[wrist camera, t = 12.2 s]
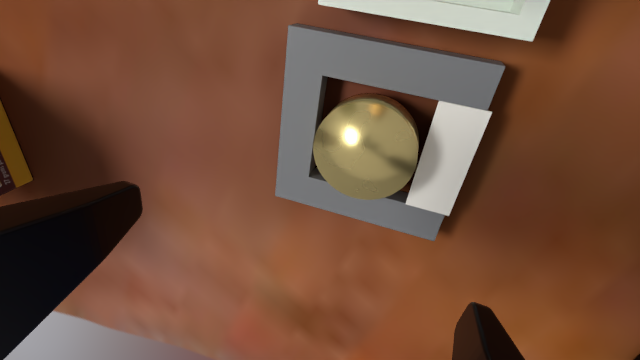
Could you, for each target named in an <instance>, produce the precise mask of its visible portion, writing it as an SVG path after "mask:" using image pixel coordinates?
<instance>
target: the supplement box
mask: <svg viewBox="0 0 640 360" xmlns="http://www.w3.org/2000/svg"><path fill="white" fill-rule="evenodd" d="M32 180H33V178H32V175H31V173H30V171H29V168H28V166H27V163H26V161H25V159H24V156H23V154H22V151H21V149H20V146H19V144H18V141H17V139H16V137H15V134H14V132H13V129H12V127H11V124H10V122H9V120H8V117H7V115H6V112H5V110H4V108H3V105H2V103H1V100H0V195H2V194H4V193H7V192H9V191H11V190H13V189H15V188H17V187H20V186H22V185H24V184H26V183H28V182H30V181H32Z"/></svg>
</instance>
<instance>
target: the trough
mask: <svg viewBox="0 0 640 360" xmlns="http://www.w3.org/2000/svg"><path fill="white" fill-rule="evenodd" d="M549 2H550V0H318V4H319V5H325V6H331V7H336V8H342V9H348V10H354V11H359V12H365V13H371V14H377V15H382V16H388V17H394V18H400V19H405V20H411V21H417V22H423V23H428V24H434V25H440V26H446V27H451V28H457V29H463V30H469V31H474V32H480V33H486V34H492V35H497V36H503V37H509V38H514V39H520V40H526V41H532V42H533V39H534V37H535V35H536V32H537V30H538V28H539V25H540V23H541V21H542V19H543V16H544V14H545V12H546V9H547V7H548V5H549Z"/></svg>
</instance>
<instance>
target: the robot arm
mask: <svg viewBox="0 0 640 360" xmlns="http://www.w3.org/2000/svg"><path fill="white" fill-rule="evenodd" d="M142 210H143V208H142V200H141V193H140V188H139V187H138V186H137V185H135V184H132V183H129V182H126V181H121V182H116V183H111V184H107V185H102V186H97V187H92V188H87V189H83V190H78V191H73V192H68V193H64V194H59V195H54V196H49V197H45V198H40V199H35V200H30V201H26V202H21V203H16V204H11V205H6V206H2V207H0V360H3V359H4V358H5V357H6V356H7V355H8V354H9V353H11V352H12V350H13V349H15V348H16V347H17V345H19V344H20V343H21V342H22V341H23V340H24V339H25V338H26V337H27V336H28V335H29V334H30V333H31V332H32V331H33V330H34V329H35V328H36V327H37V326H38V325H39V324H40V323H41V322H42V321H43V320H44V319H45V318H46V317H47V316H48V315H49V314H50V313H51V312H52V311H53V310H54V309H55V308H56V307H57V306H58V305H59V304H60V303H61V302H62V301H63V300H64V299H65V298H66V297H67V296H68V295H69V294H70V293H71V292H72V291H73V290H74V289H75V288H76V287H77V286H78V285H79V284H80V283H81V282H82V281H83V280H84V279H85V278H86V277H87V276H88V275H89V274H90V273H91V272H92V271H93V270H94V269H95V268H96V267H97V266H98V265H99V264H100V263H101V262H102V261H103V260H104V259H105V258H106V257H107V256H108V255H109V253H110V252H111V251H112V250H113V249H114V248H115V246H116V245H117V244H118V243H119V242H120V240H121V239H122V238H123V237H124V236H125V234H126V233H127V232H128V231H129V230H130V228H131V227H132V226H133V225H134V224H135V222H136V221H137V220H138V219H139V218H140V216H141V214H142ZM452 360H525V359H524V357H523V356H522V354H521V353H520V351H519V350H518V348H517V347H516V345H515V344H514V342H513V341H512V340H511V338H510V337H509V335H508V334H507V332H506V331H505V329H504V328H503V326H502V325H501V323H500V322H499V320H498V319H497V317H496V316H495V314H494V313H493V311H492V310H491V309H490V308H489V307H487V306H484V305H481V304H478V303H475V302H471V303H470V304H469V305H468V306H467V308H466V309H465V311H464V313H463V314H462V316H461V317H460V319H459V321H458V322H457V325H456V328H455V333H454V344H453V355H452ZM634 360H640V355H638V356H637V357H636V358H635V359H634Z"/></svg>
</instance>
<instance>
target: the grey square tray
mask: <svg viewBox="0 0 640 360" xmlns="http://www.w3.org/2000/svg"><path fill="white" fill-rule="evenodd" d="M504 69H505V65H504V64H503V63H502V62H501V61H495V60H490V59H485V58H479V57H474V56H469V55H463V54H458V53H453V52H447V51H442V50H437V49H431V48H426V47H420V46H415V45H410V44H404V43H399V42H394V41H388V40H383V39H378V38H372V37H367V36H362V35H356V34H351V33H346V32H340V31H335V30H330V29H324V28H319V27H313V26H308V25H303V24H292V25H288V38H287V51H286V64H285V77H284V90H283V103H282V115H281V128H280V141H279V154H278V167H277V180H276V193H275V196H278V197H282V198H285V199H289V200H292V201H296V202H299V203H303V204H306V205H310V206H313V207H317V208H320V209H324V210H327V211H331V212H334V213H338V214H341V215H345V216H348V217H351V218H355V219H358V220H362V221H365V222H369V223H372V224H376V225H379V226H383V227H386V228H390V229H393V230H397V231H400V232H404V233H407V234H411V235H414V236H418V237H421V238H424V239H428V240H431V241H434V240H435V238H436V235H437V233H438V230H439V228H440V225H441V223H442V221H443V218H444V216H445V215H447V216H449V215H450V212H451V210H452V207H453V205H454V203H455V200H456V198H457V195H458V193H459V191H460V188H461V186H462V184H463V181H464V179H465V176H466V174H467V172H468V169H469V167H470V164H471V162H472V160H473V157H474V155H475V152H476V150H477V148H478V145H479V143H480V140H481V138H482V136H483V133H484V131H485V128H486V126H487V124H488V121H489V119H490V116H491V114H492V112H491V111H487V110H488V108H489V106H490V103H491V101H492V98H493V96H494V93H495V91H496V88H497V86H498V84H499V81H500V79H501V76H502V74H503V71H504ZM328 77H332V78H337V79H341V80H346V81H351V82H355V83H360V84H365V85H369V86H374V87H379V88H383V89H388V90H393V91H397V92H402V93H407V94H412V95H416V96H421V97H426V98H430V99H435V100H439V102H438V105H437V108H436V111H435V114H434V117H433V120H432V124H431V127H430V130H429V133H428V136H427V139H426V142H425V145H424V148H423V151H422V154H421V157H420V160H419V163H418V167H417V170H416V173H415V176H414V179H413V182H412V185H411V188H410V191H409V193H406V192H403V191H397V192H396V193H394V194H392V195H390V196H387V197H385V198H381V199H374V200H363V199H357V198H353V197H350V196H347V195H345V194H343V193H341V192H339V191H337V190H336V189H335V188H333V187H332V186H331V185H330V184H329V183H328V182H327V181H326V180H325V179H324V178H323V176H322V175H321V173H320V172H319V170H318V169H316V168H315V159H314V154H313V143H314V138H315V134H316V132H317V129H318V128H319V126H320V124H321V120H322V113H323V106H324V99H325V92H326V85H327V78H328Z"/></svg>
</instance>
